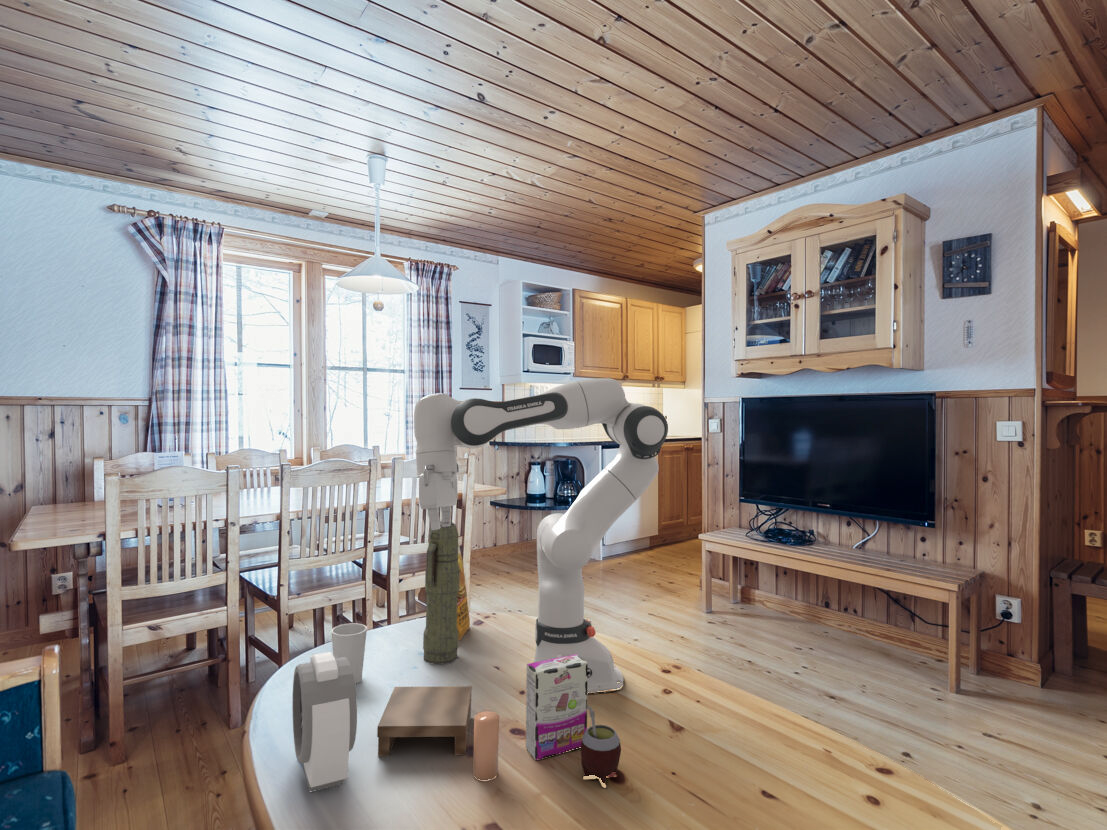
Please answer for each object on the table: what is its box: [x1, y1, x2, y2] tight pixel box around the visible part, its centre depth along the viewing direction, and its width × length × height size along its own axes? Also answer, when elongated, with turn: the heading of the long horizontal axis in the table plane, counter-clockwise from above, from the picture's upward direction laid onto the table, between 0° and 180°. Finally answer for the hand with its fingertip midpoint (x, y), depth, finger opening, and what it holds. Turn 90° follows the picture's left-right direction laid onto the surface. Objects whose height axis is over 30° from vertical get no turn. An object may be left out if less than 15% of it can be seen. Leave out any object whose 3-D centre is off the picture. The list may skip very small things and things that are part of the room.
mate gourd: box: [579, 704, 622, 783], centre depth 105 cm, size 8×8×15 cm
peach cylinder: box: [472, 710, 500, 780], centre depth 106 cm, size 4×4×10 cm
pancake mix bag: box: [457, 543, 471, 642], centre depth 173 cm, size 7×19×28 cm, turn 172°
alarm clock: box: [291, 651, 358, 792], centre depth 106 cm, size 18×8×20 cm, turn 29°
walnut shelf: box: [376, 685, 473, 757], centre depth 118 cm, size 16×16×6 cm
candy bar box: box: [525, 654, 588, 761], centre depth 115 cm, size 11×5×16 cm, turn 117°
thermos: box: [422, 520, 460, 665], centre depth 156 cm, size 9×12×35 cm
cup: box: [331, 622, 368, 685], centre depth 142 cm, size 8×8×12 cm
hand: (441, 528), depth 133 cm, fingers open, 8 cm apart
